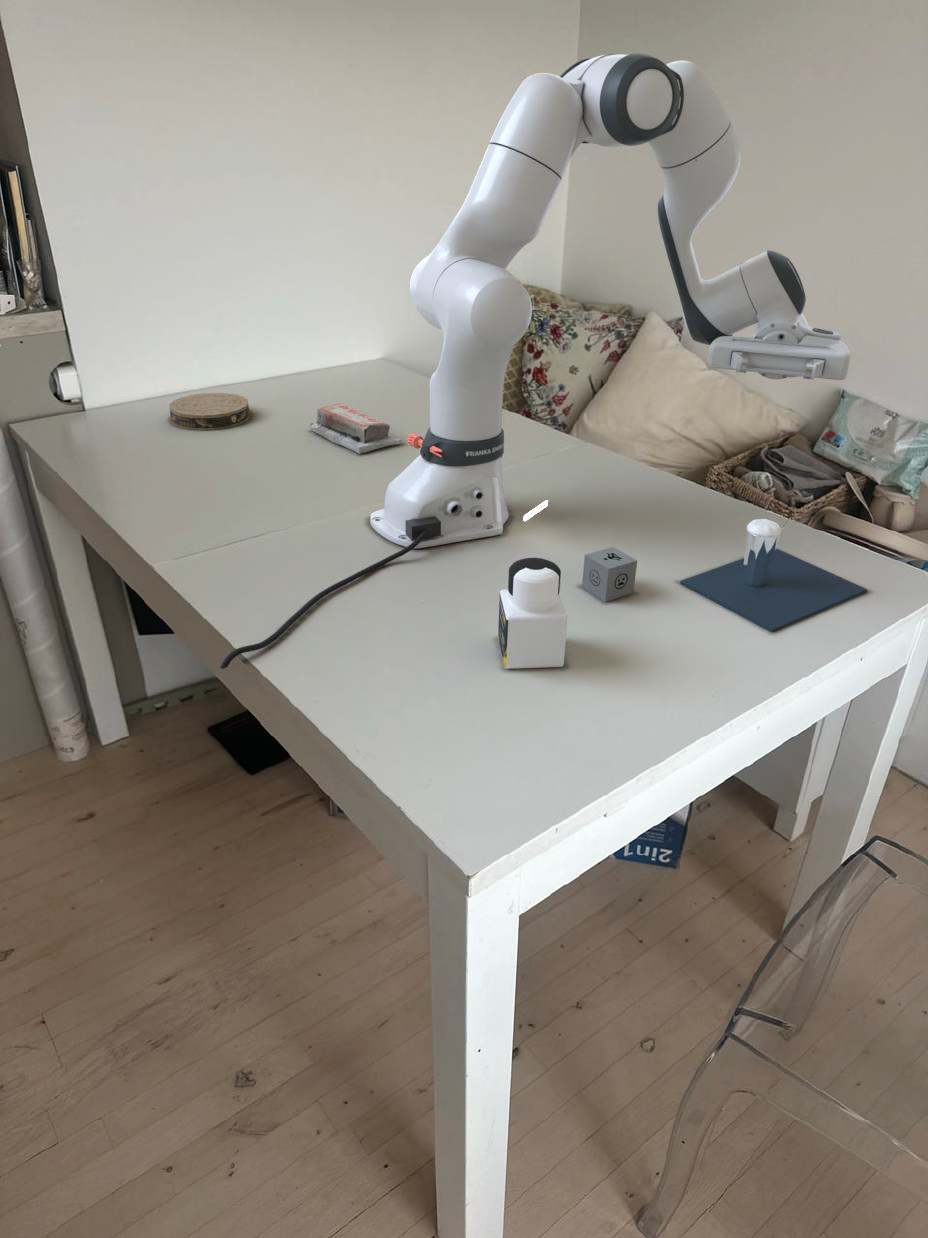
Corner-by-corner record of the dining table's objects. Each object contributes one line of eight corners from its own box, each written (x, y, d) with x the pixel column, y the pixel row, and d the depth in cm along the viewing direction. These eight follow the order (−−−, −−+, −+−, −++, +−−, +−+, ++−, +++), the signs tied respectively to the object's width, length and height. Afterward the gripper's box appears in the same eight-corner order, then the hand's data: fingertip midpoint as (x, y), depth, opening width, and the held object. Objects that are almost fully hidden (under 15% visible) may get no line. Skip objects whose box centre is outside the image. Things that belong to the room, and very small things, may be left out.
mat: (771, 632, 116) (772, 629, 116) (680, 583, 127) (680, 580, 127) (866, 591, 126) (867, 589, 126) (773, 549, 137) (774, 547, 137)
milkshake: (778, 591, 125) (792, 524, 120) (738, 587, 126) (750, 521, 121) (775, 576, 129) (788, 511, 124) (736, 572, 129) (748, 507, 124)
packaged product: (306, 407, 180) (348, 398, 185) (308, 431, 182) (349, 421, 188) (358, 430, 168) (401, 420, 174) (359, 455, 170) (402, 444, 176)
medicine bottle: (497, 638, 114) (500, 552, 108) (553, 636, 114) (560, 550, 108) (504, 670, 108) (508, 580, 101) (564, 667, 108) (571, 578, 102)
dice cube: (633, 593, 125) (637, 560, 122) (605, 602, 122) (608, 569, 120) (609, 578, 128) (613, 546, 126) (581, 587, 126) (584, 554, 123)
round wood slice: (241, 403, 198) (239, 389, 196) (257, 424, 185) (256, 410, 184) (165, 411, 192) (163, 397, 191) (177, 434, 180) (175, 419, 178)
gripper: (714, 322, 144) (705, 341, 132) (851, 333, 138) (854, 354, 127) (708, 362, 147) (699, 384, 136) (842, 375, 141) (844, 399, 130)
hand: (775, 370), depth 131 cm, fingers open, 8 cm apart
